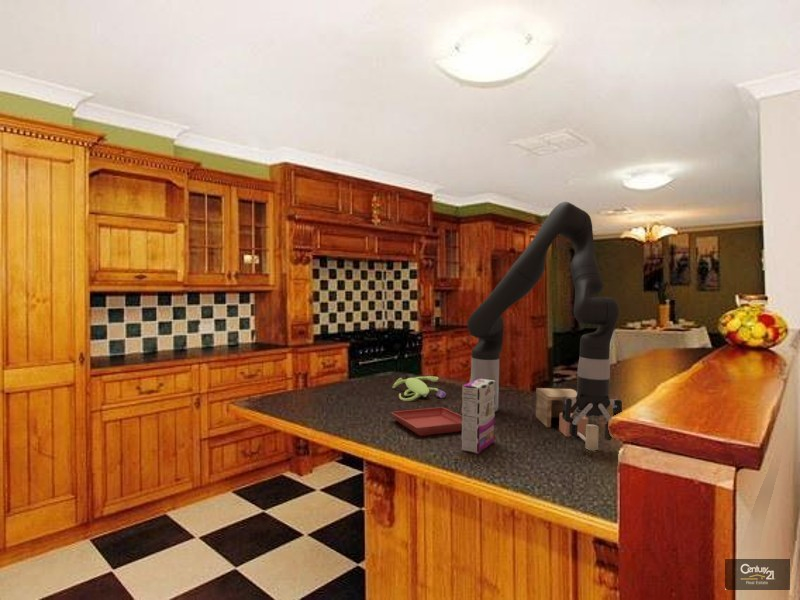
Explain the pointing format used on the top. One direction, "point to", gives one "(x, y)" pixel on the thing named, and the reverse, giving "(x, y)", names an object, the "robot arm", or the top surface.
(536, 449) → the top surface
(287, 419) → the top surface
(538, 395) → the shelf cubby
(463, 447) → the candy bar box
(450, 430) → the plant saucer
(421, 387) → the figurine
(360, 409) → the top surface
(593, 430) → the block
